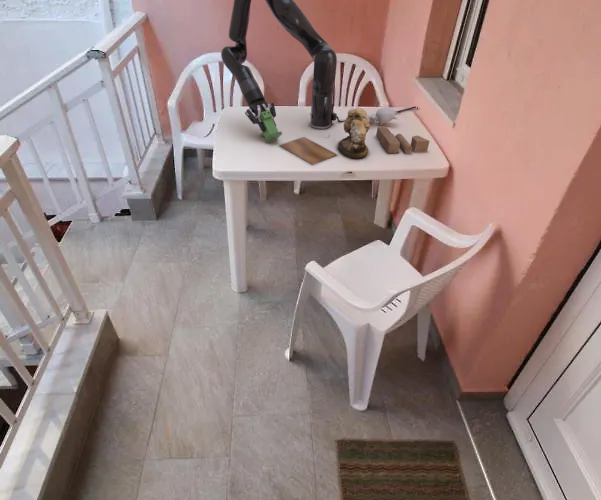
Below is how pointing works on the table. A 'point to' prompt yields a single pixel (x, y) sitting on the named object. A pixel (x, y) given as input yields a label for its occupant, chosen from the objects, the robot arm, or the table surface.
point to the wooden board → (308, 150)
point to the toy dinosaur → (269, 127)
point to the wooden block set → (400, 142)
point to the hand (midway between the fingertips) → (269, 129)
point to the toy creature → (383, 116)
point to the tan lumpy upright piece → (355, 134)
